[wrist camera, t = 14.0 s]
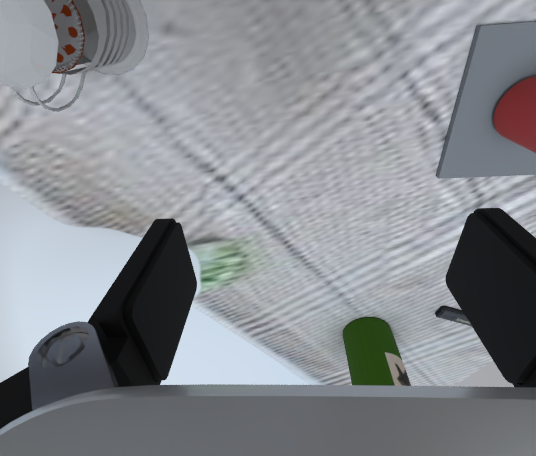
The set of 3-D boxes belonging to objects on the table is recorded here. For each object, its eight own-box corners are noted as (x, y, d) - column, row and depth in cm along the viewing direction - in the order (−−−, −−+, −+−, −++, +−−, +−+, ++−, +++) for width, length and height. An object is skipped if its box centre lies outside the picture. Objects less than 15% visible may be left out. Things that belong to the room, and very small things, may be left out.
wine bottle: (400, 329, 56) (508, 612, 29) (365, 351, 60) (430, 614, 33) (367, 309, 53) (452, 600, 26) (332, 333, 57) (375, 605, 31)
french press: (152, -21, 28) (-195, -138, 8) (144, 103, 35) (-57, 217, 14) (43, -61, 27) (-712, -325, 7) (56, 75, 34) (-304, 157, 13)
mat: (476, 25, 29) (481, 25, 29) (631, 14, 28) (639, 13, 28) (435, 175, 38) (438, 178, 38) (552, 170, 37) (556, 173, 37)
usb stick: (431, 312, 53) (435, 319, 52) (440, 302, 52) (444, 309, 51) (477, 324, 55) (481, 331, 53) (487, 315, 53) (492, 322, 52)
